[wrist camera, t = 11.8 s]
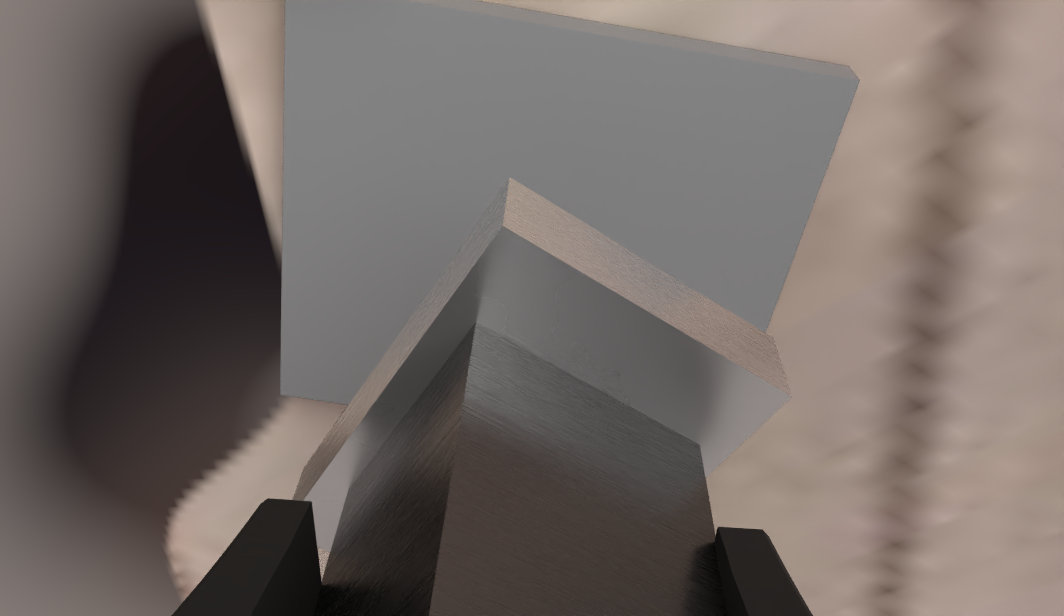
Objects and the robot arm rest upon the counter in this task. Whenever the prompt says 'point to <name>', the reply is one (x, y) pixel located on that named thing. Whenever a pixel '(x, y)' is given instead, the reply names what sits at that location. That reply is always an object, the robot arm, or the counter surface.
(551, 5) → the counter surface
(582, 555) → the metal post with plate
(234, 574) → the robot arm
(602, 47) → the slate board
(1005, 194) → the counter surface
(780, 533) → the counter surface
